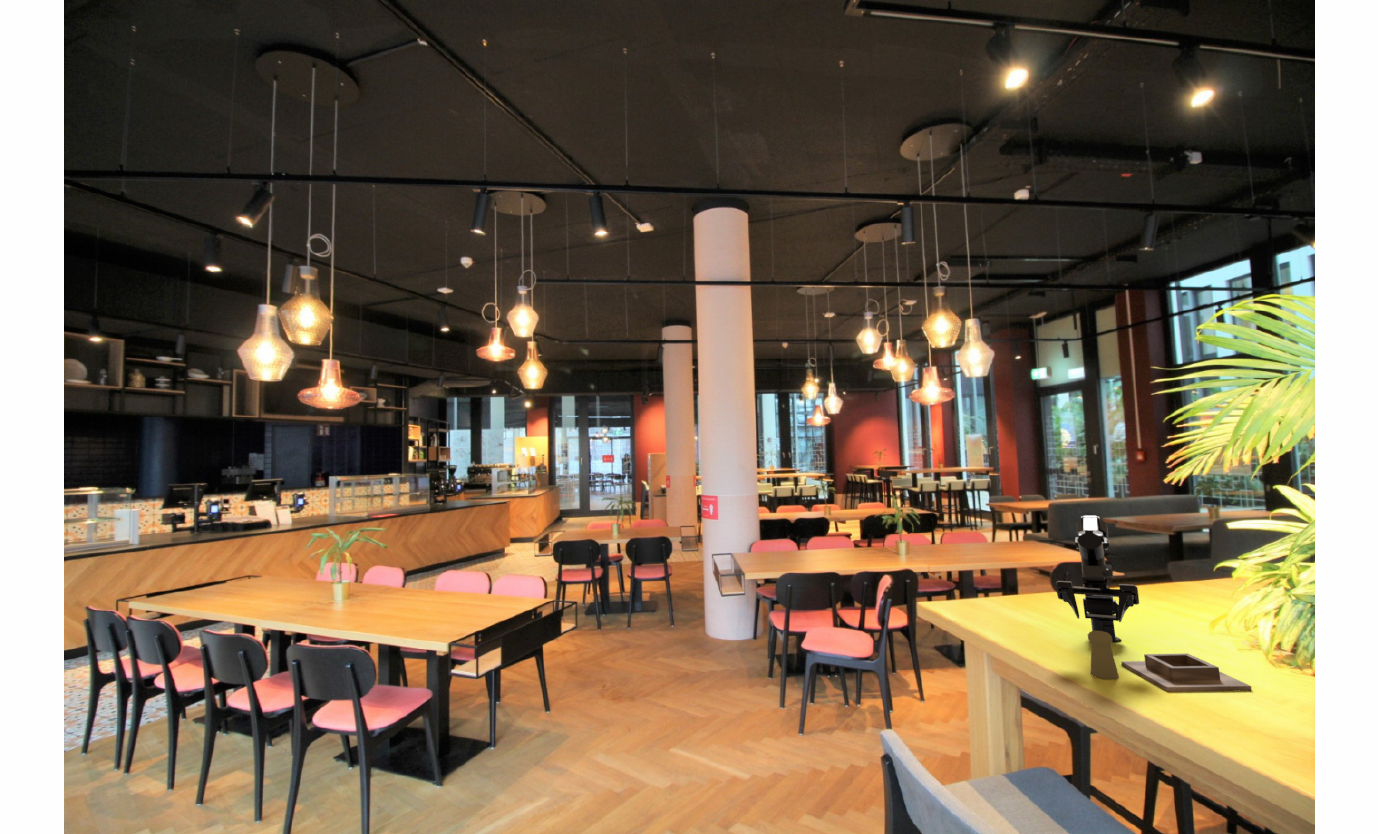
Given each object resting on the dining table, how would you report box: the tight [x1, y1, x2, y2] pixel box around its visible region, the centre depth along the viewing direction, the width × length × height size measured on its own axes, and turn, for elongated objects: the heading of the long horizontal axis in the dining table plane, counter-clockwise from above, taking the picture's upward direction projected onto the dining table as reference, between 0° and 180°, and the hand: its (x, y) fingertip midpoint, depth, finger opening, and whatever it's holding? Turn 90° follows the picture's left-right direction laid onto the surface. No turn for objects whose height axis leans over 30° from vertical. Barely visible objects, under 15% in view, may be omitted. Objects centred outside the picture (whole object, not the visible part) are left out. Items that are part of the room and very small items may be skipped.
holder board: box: [1120, 653, 1253, 692], centre depth 145 cm, size 18×18×4 cm
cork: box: [1087, 631, 1120, 681], centre depth 150 cm, size 6×6×11 cm
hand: (1098, 619), depth 155 cm, fingers open, 9 cm apart
